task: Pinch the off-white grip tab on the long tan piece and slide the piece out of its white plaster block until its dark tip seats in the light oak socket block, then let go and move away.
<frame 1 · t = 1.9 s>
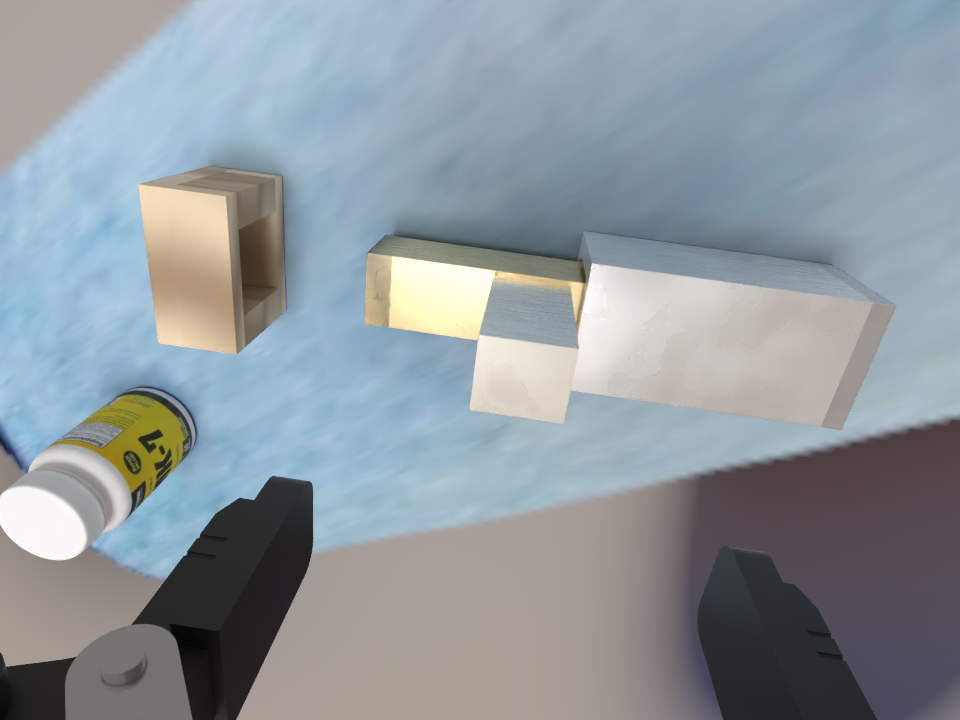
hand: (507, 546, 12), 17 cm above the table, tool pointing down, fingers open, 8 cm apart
white plaster block: (681, 302, 27), on the table
supplement bottle: (158, 421, 33), on the table
socket: (252, 242, 28), on the table
tan piece: (592, 335, 22), point 6 cm above the table, slide at 0.0 cm
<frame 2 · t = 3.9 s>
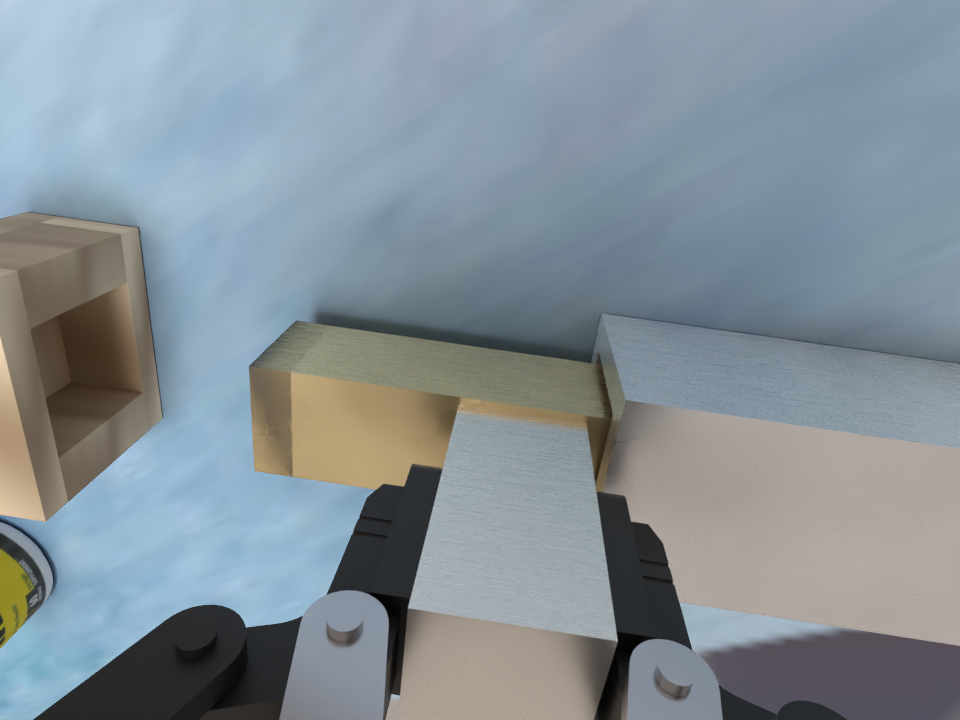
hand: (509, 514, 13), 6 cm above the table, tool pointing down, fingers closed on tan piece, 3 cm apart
white plaster block: (749, 417, 18), on the table
supplement bottle: (2, 556, 24), on the table
socket: (104, 323, 19), on the table
tan piece: (625, 516, 13), point 6 cm above the table, slide at 0.0 cm, touching gripper
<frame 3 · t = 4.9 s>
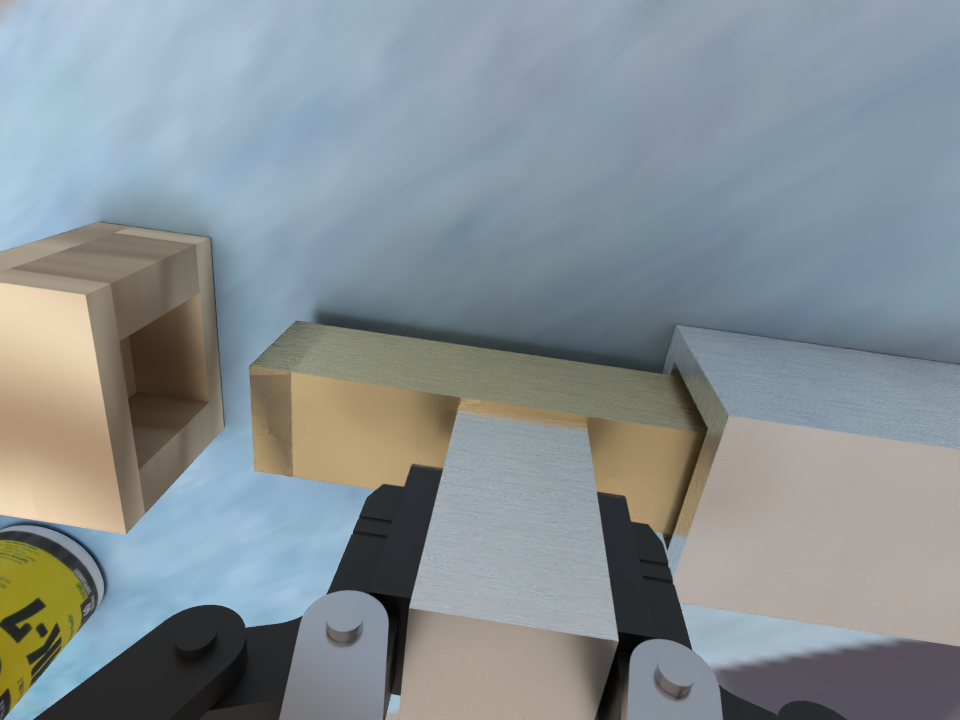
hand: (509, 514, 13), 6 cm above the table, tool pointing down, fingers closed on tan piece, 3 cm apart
white plaster block: (819, 428, 18), on the table
supplement bottle: (53, 565, 23), on the table
socket: (170, 332, 18), on the table
tan piece: (625, 516, 13), point 6 cm above the table, slide at 2.1 cm, touching gripper
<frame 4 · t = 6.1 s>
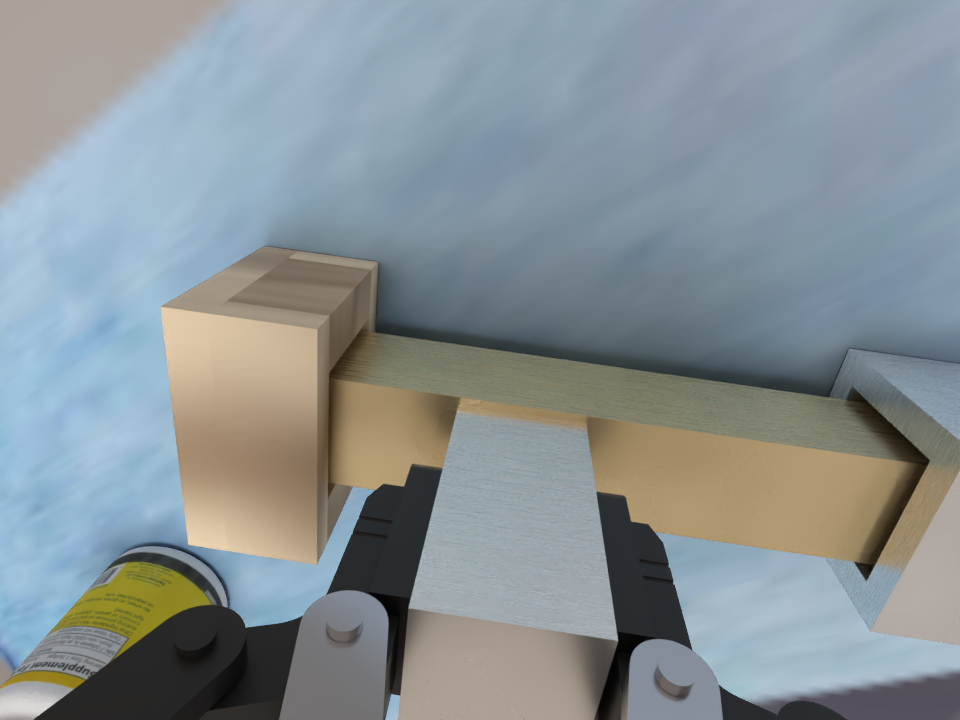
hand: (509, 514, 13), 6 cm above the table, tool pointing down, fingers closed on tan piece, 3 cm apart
supplement bottle: (175, 585, 23), on the table
socket: (325, 356, 18), on the table
tan piece: (625, 516, 13), point 6 cm above the table, slide at 7.0 cm, touching gripper
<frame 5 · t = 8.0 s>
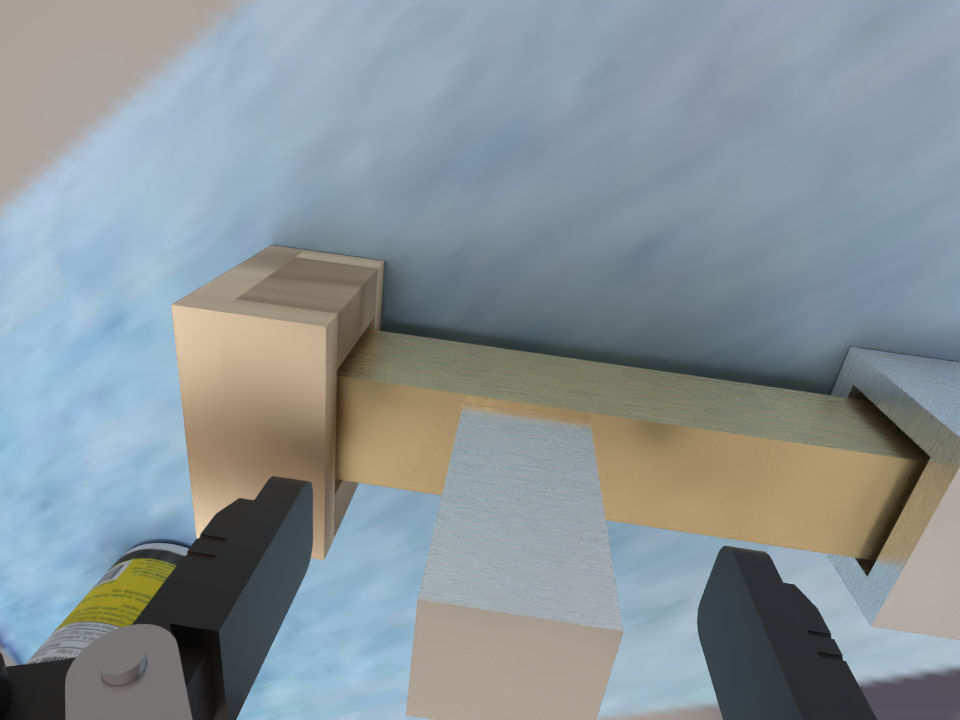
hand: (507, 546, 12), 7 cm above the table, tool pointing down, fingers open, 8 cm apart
supplement bottle: (180, 581, 24), on the table
socket: (331, 354, 18), on the table
tan piece: (628, 511, 13), point 6 cm above the table, slide at 7.0 cm
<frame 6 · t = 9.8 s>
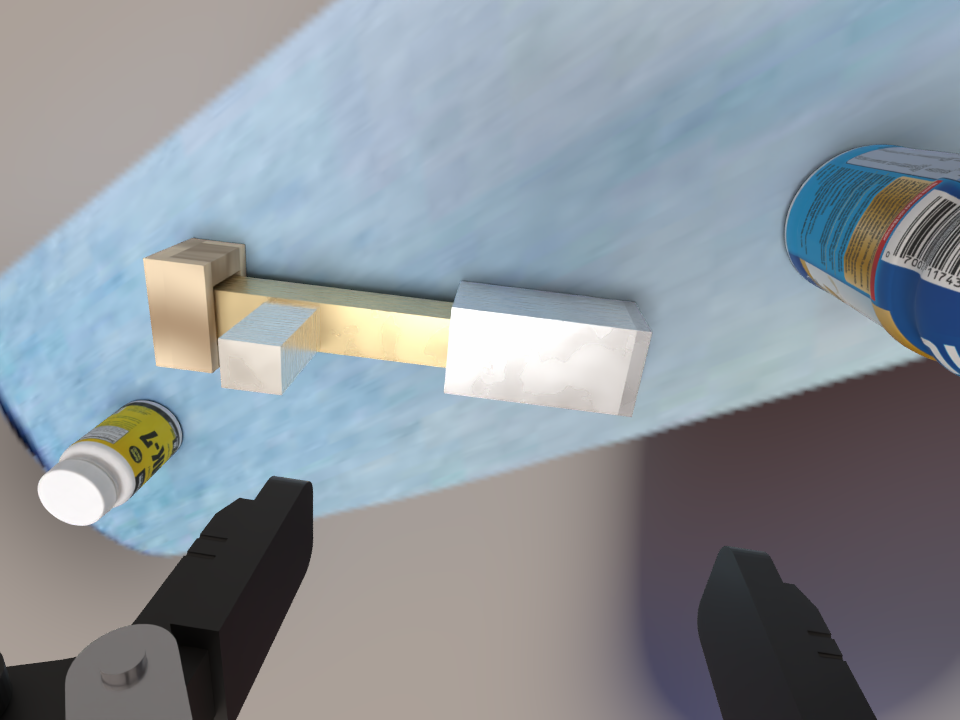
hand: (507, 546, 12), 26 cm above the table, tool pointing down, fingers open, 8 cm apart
white plaster block: (535, 329, 38), on the table
beverage bottle: (853, 218, 34), on the table
supplement bottle: (153, 426, 43), on the table
socket: (224, 291, 38), on the table
tan piece: (329, 339, 33), point 6 cm above the table, slide at 7.0 cm
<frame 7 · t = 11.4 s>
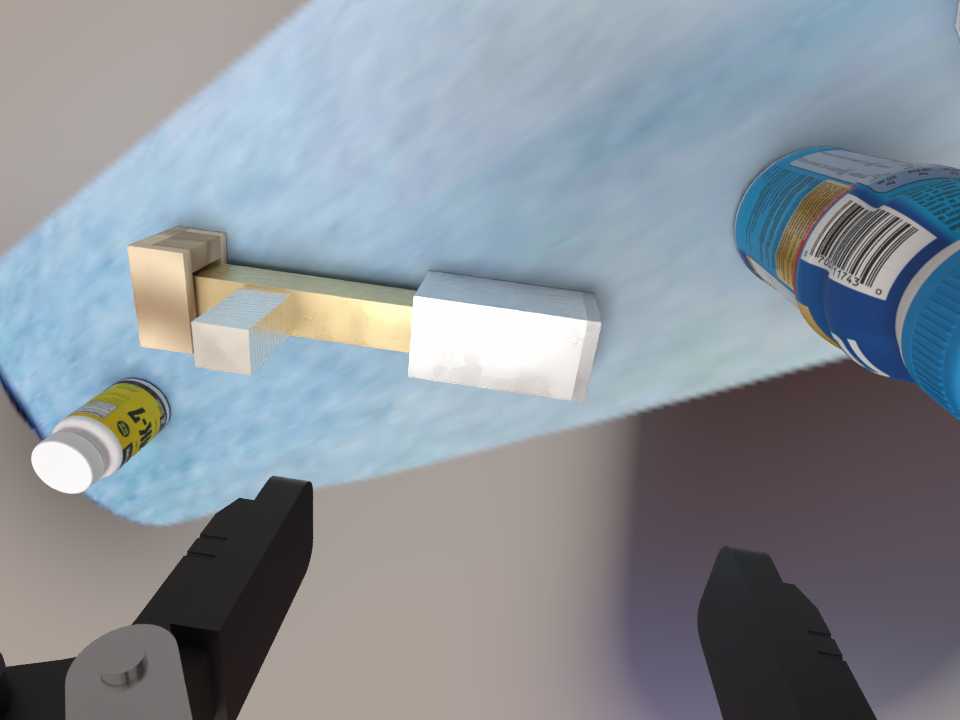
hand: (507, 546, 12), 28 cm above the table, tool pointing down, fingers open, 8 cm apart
white plaster block: (499, 318, 40), on the table
beverage bottle: (801, 217, 36), on the table
supplement bottle: (142, 403, 45), on the table
socket: (207, 276, 40), on the table
tan piece: (299, 324, 35), point 6 cm above the table, slide at 7.0 cm
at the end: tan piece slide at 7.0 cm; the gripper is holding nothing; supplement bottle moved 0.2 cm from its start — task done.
